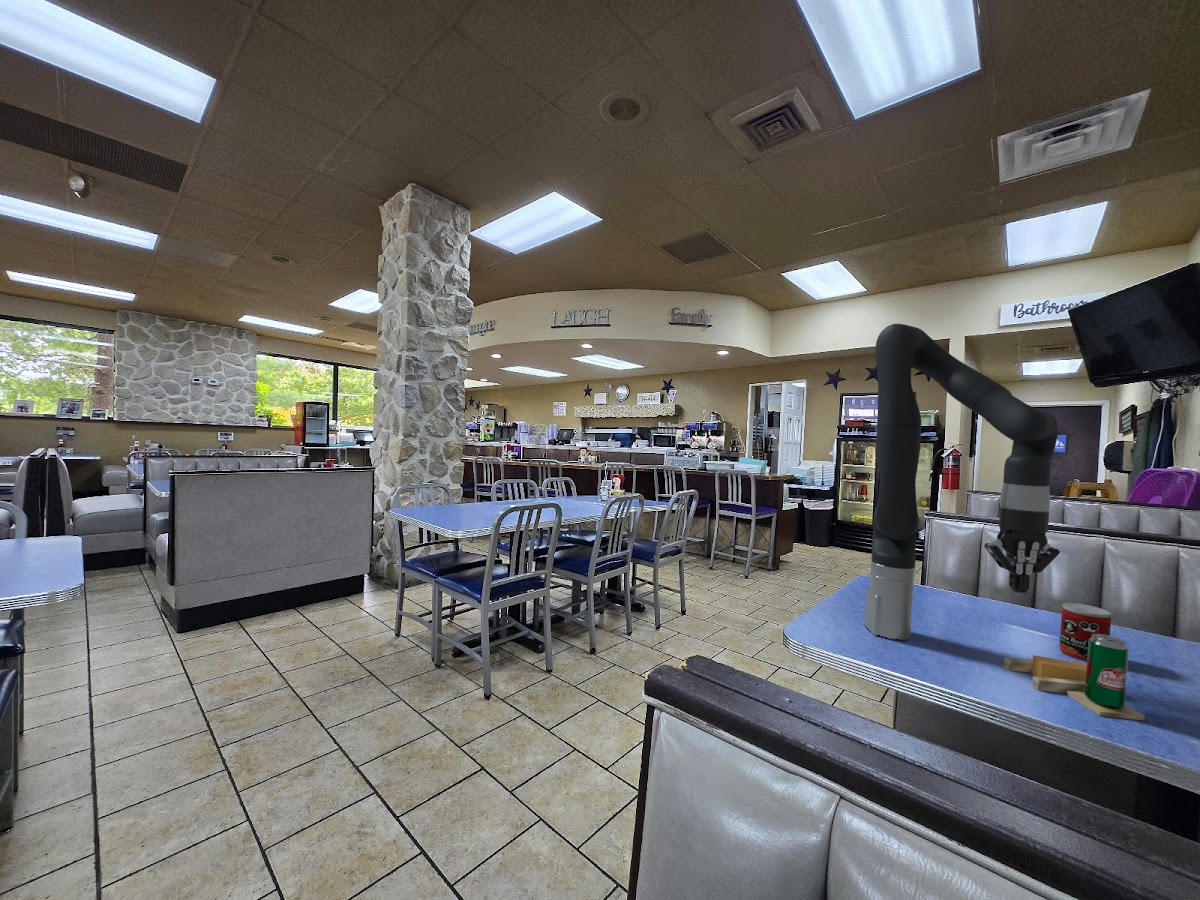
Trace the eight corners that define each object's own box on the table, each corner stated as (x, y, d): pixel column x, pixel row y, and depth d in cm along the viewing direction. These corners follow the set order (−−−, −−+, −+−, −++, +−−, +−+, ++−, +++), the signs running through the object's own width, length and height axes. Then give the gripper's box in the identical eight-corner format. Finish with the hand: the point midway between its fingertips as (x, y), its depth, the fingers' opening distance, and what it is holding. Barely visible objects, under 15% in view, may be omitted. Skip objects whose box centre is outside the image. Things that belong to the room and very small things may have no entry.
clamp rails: (1038, 690, 94) (1038, 680, 94) (1003, 666, 104) (1004, 657, 103) (1122, 698, 92) (1122, 688, 92) (1079, 673, 102) (1080, 664, 102)
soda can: (1098, 708, 87) (1103, 642, 86) (1077, 693, 92) (1081, 631, 91) (1132, 712, 86) (1137, 645, 85) (1108, 697, 91) (1113, 634, 90)
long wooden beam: (1040, 682, 98) (1041, 663, 98) (1031, 673, 101) (1032, 655, 101) (1105, 694, 94) (1107, 674, 94) (1093, 685, 98) (1095, 665, 98)
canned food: (1049, 648, 114) (1053, 602, 114) (1080, 648, 115) (1084, 602, 114) (1085, 663, 107) (1088, 614, 106) (1117, 663, 107) (1121, 614, 107)
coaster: (1099, 715, 86) (1100, 711, 86) (1067, 694, 93) (1067, 690, 93) (1144, 720, 85) (1144, 715, 85) (1108, 698, 92) (1108, 694, 92)
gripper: (1045, 506, 101) (1040, 588, 101) (976, 502, 102) (971, 583, 103) (1076, 511, 93) (1070, 600, 94) (1001, 508, 95) (995, 595, 95)
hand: (1018, 591), depth 98 cm, fingers closed
